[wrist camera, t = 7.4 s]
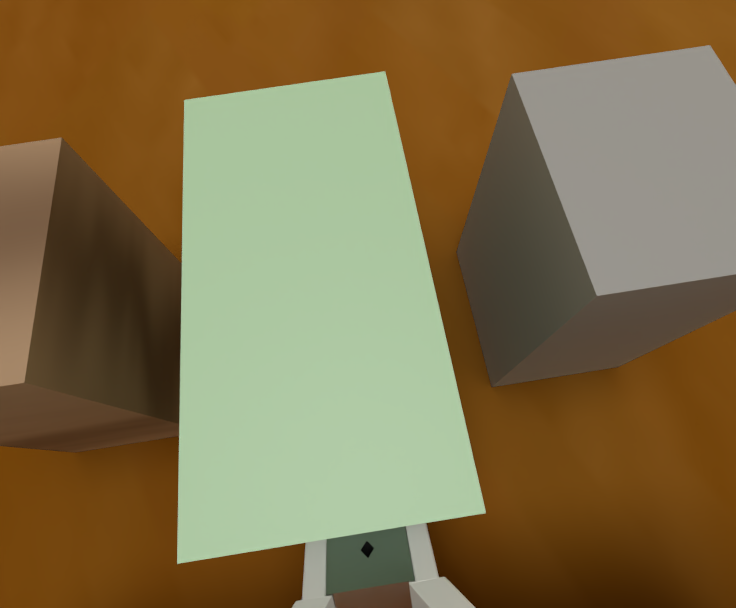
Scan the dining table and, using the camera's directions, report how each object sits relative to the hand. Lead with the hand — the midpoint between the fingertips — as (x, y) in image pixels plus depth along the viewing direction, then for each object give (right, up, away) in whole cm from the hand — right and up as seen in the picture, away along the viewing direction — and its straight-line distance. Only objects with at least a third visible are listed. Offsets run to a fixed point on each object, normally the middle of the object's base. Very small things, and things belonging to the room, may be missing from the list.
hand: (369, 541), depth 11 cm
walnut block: (-9, +4, +7) cm, 12 cm away
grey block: (+7, +6, +7) cm, 11 cm away
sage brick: (-1, +3, +6) cm, 7 cm away
